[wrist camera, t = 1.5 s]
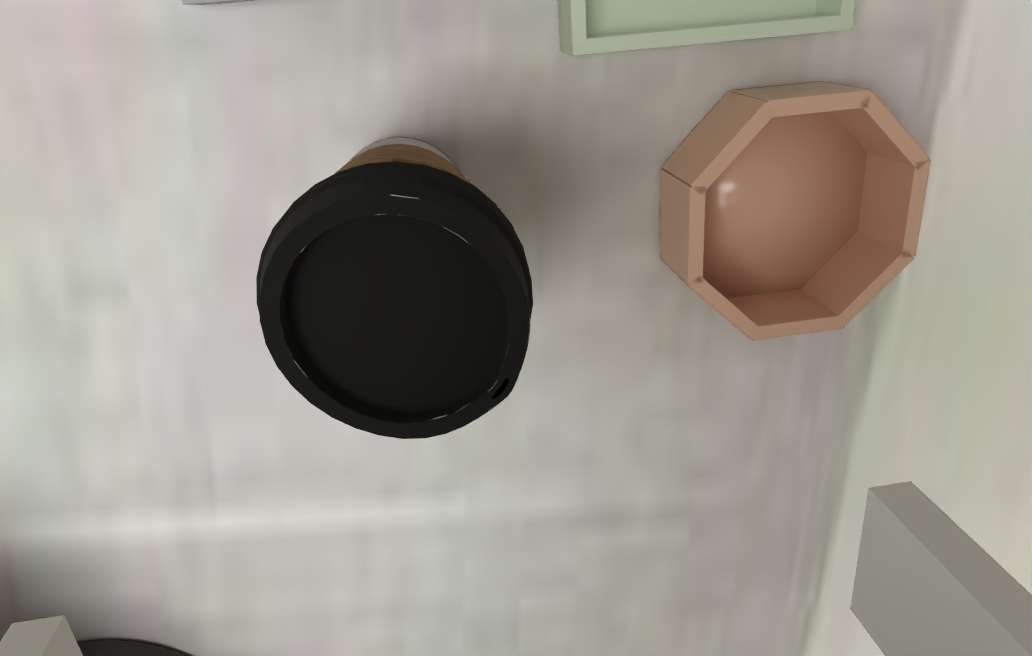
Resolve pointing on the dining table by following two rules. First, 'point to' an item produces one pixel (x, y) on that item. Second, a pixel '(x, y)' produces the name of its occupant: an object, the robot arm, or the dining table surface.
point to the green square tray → (691, 22)
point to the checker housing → (208, 1)
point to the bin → (792, 206)
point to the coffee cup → (396, 294)
